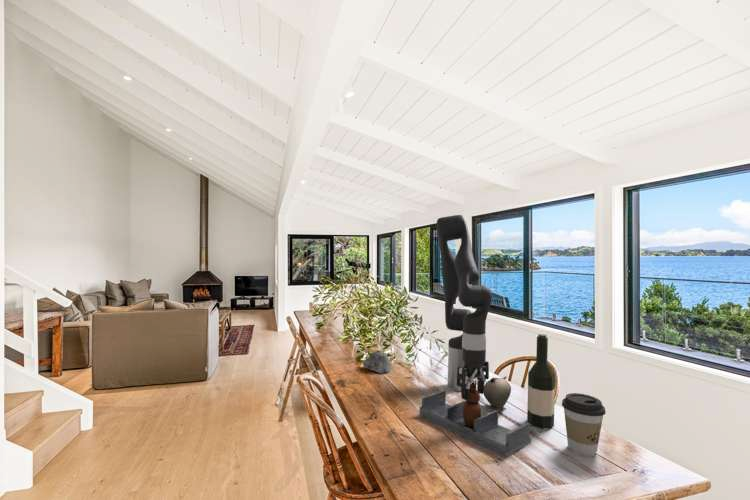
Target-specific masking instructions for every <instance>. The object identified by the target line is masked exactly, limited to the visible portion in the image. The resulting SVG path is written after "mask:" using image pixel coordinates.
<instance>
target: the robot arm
mask: <svg viewBox="0 0 750 500" xmlns="http://www.w3.org/2000/svg"><path fill="white" fill-rule="evenodd" d="M436 234H437V240H438V247H439V252H440V263H441V265H440V266H441V278H442V280H441V281H442V286H443V287H442V288H443V295H444V318H445V326H446V329H447V330H451V331H459V332H462V334H461V335H459V336H454V337H451V338H449V339H448V344H447V345H448V348H447V350H448V351H447V353H448V354H447V355H448V358H447V388H448V389H450V390H452V391H458V392H461V393H460V394H461V395H460V397H461V400H463V401H466V400H468V398H469V388H470V384H471V383H473V380H475V379H477V380H476V390H477V391H478V392H479V394H480V395H484V394H483V393H484V386H485V383H486V382H487V380H489V378H490V369H489V368H490V365H489V361H487V357H486V355H487V336H486V327H487V326H486V324H487V323H486V322H487V318H488V317H487V316H488V313H489V310H490V307H491V304H492V301H493V293H492V290H491V288H490V287H489V286H487V285H484V284H478V285H477V283H478V281H479V280H480V273H479V269H478V266H477V263H476V262H475V258H474V254H473V249H472V243H471V238H470V233H469V227H468V223H467V220H466V218H465V217H464V215H462V214H455V215H449V216H443V217H439V218H438V219H437V220H436ZM457 240H460V241H461V243H460V246H459V248H458V250H457V252H456V255H455V254H454V252H453V251H452V250H451V248H450V247H449V244H448V242H450V241H457ZM457 298H458V301H459V303H460V305H462V306H463V307H467V308H476V309H475V310H474V312H472V311H471V310H470V309H465V308H455V307H454V305H455V302H456V300H457Z"/></svg>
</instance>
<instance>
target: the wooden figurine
mask: <svg viewBox="0 0 750 500" xmlns="http://www.w3.org/2000/svg"><path fill="white" fill-rule="evenodd" d="M480 398H481V394H480V393H479V392H478V391H477V380H475V379H473V381H472V383H471V384H470V388H469V398H468V400H464V401H465V403H464V405H463V418H464V422H465V424H466V425H467V426H470V427H474V420H475V419H477V418H479V417H482V407H481V404H480V400H481V399H480Z"/></svg>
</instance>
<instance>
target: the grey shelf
mask: <svg viewBox="0 0 750 500" xmlns="http://www.w3.org/2000/svg"><path fill="white" fill-rule="evenodd" d="M446 392H447V391H446V390H445V389H444V390H441V391H437V392H434V393H432V394H428V395H426V396H422V397H421V406H419V411H418V412H419V415H418V417H421V418H422V419H424V420H427V421H428V422H430V423H432V424H435V425H436V426H439V427H441V428H443V429H445V430H447V431H450V432H451V433H454V434H455V435H457V436H460V437H462V438H464V439H466V440H468V441H469V442H472V443H474V444H477V445H478V446H481V447H483V448H485V449H487V450H488V451H491V452H493V453H494V454H498V455H499V456H502V457H504V458H506V459H507V458H508V457H510V456H512V455H514V454H515V453H516V452H518V451H520V450H521V449H524V448H525V447H527V446H528V445H530V444H531V443H532V438H531V425H530V423H529V422H525V423H523V424H522V425H519V426H518V427H516V428H514V429H509V428H507V427H504V426H502V425H499V411H497V410H495V411H493V412H492V411H490V412H488V413H486V414H484V415H481V417H479V418H477V419H475V420H474V427H470V426H467V425H466V424H465V422H464V418H463V405H464V403H465V401H466V400H463V401H461V402H459V403H455V404H453V405H451V404H450V403H449V404H448V403H447V402H446V400H447V399H446V398H447V397H446V395H447V393H446Z"/></svg>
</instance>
